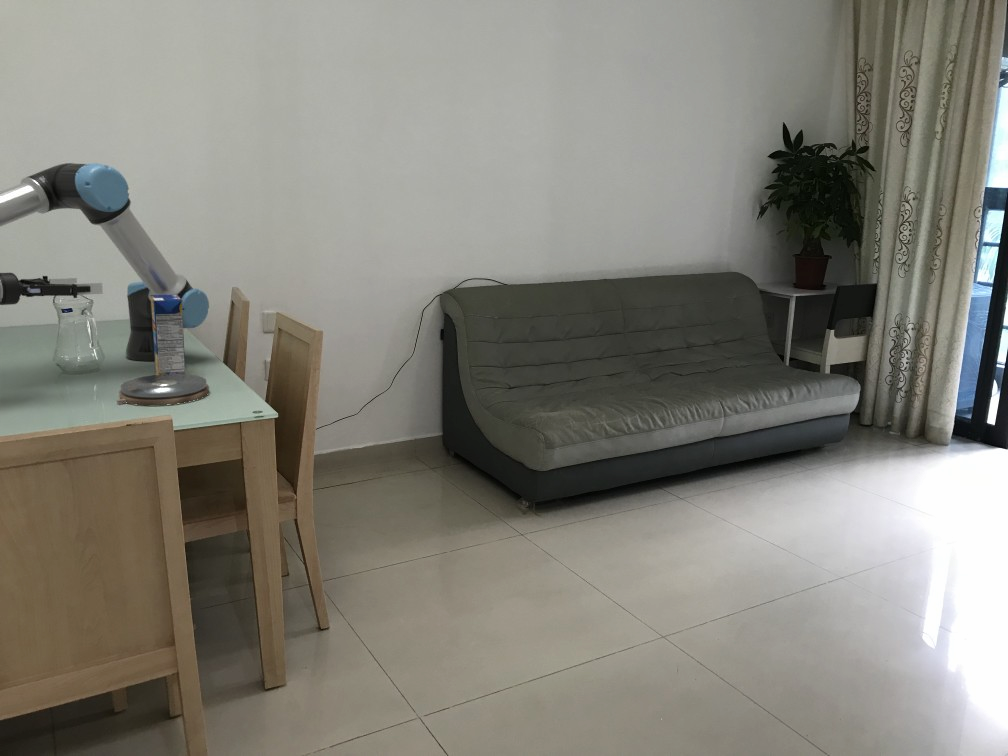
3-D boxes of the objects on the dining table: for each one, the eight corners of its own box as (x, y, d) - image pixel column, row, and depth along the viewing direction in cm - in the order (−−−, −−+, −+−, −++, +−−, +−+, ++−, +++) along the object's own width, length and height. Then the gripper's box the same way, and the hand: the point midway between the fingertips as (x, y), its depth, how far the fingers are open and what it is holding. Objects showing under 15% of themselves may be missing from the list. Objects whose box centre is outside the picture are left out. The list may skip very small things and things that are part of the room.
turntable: (179, 375, 219) (178, 370, 219) (222, 388, 207) (222, 382, 207) (105, 389, 204) (105, 383, 203) (148, 403, 192) (148, 397, 191)
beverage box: (158, 381, 219) (154, 300, 214) (155, 372, 229) (150, 294, 224) (185, 379, 223) (181, 300, 217) (181, 370, 232) (177, 294, 227)
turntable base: (180, 380, 220) (179, 375, 220) (225, 394, 208) (225, 388, 207) (96, 396, 202) (95, 390, 202) (140, 412, 190) (140, 406, 190)
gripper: (-23, 299, 198) (67, 295, 215) (20, 311, 183) (113, 305, 200) (-26, 268, 197) (65, 266, 213) (18, 277, 182) (112, 274, 198)
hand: (88, 285), depth 206 cm, fingers open, 13 cm apart
